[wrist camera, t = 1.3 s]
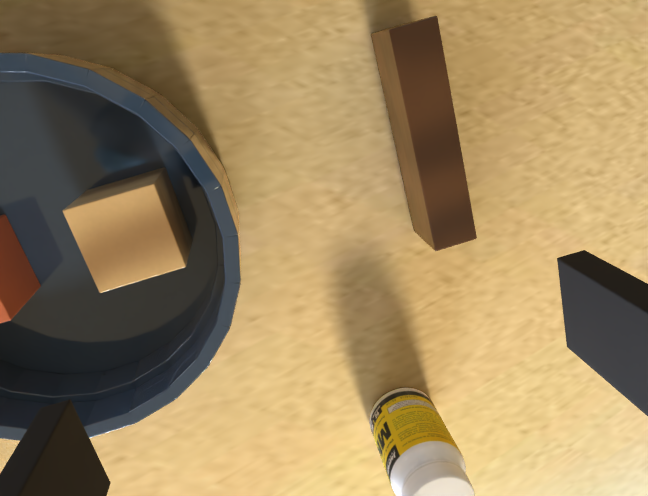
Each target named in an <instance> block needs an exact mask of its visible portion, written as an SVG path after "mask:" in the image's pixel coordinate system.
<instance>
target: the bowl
mask: <svg viewBox="0 0 648 496" xmlns="http://www.w3.org/2000/svg"><path fill="white" fill-rule="evenodd" d="M161 168H166V170H167V173H168V175H169V178H170V181H171V183H172V186H173V189H174V191H175V194H176V197H177V199H178V202H179V205H180V207H181V210H182V213H183V215H184V218H185V221H186V223H187V226H188V229H189V232H190V234H191V237H192V240H193V241H192V245H191V249H190V252H189V256H188V260H187V264H186V267H184V268H181V269H178V270H174V271H171V272H168V273H165V274H161V275H158V276H155V277H151V278H148V279H145V280H141V281H138V282H135V283H132V284H128V285H125V286H122V287H118V288H115V289H112V290H109V291H105V292H102V293H100V292H99V290H98V288H97V286H96V284H95V282H94V279H93V277H92V275H91V273H90V271H89V268H88V266H87V264H86V262H85V260H84V257H83V255H82V253H81V251H80V249H79V246H78V244H77V242H76V240H75V238H74V235H73V233H72V231H71V229H70V227H69V224H68V222H67V220H66V218H65V216H64V213H63V210H64V209H65V208H66V207H68V206H69V205H70V204H71V203H72V202H74V201H75V200H76V199H77V198H78V197H80V196H81V195H82V194H83V193H84V192H86V191H87V190H89V189H93V188H96V187H99V186H103V185H106V184H110V183H113V182H116V181H120V180H123V179H127V178H130V177H133V176H137V175H140V174H144V173H147V172H150V171H154V170H157V169H161ZM1 215H6V216H7V218H8V220H9V222H10V225H11V227H12V229H13V231H14V233H15V235H16V237H17V239H18V241H19V243H20V245H21V247H22V249H23V251H24V253H25V255H26V257H27V259H28V261H29V263H30V265H31V267H32V269H33V271H34V273H35V275H36V277H37V279H38V281H39V283H40V285H41V287H40V288H39V289H38V290H37V291H36V292H35V293H34V294H33V296H32V297H31V298H30V299H29V300H28V301H27V302H26V303H25V305H24V306H23V307H22V308H21V309H20V310H19V311H18V312H17V314H16V315H15V316H14V317H13V318H12V319H11V320H10V321H6V322H3V323H0V438H2V439H10V440H19V441H21V439H22V437H23V436H24V434H25V433H26V431H27V429H28V428H29V426H30V424H31V423H32V421H33V419H34V418H35V416H36V414H37V413H38V411H39V409H40V408H41V407H45V406H48V405H52V404H55V403H59V402H62V401H66V400H69V399H71V402H72V404H73V406H74V408H75V410H76V412H77V414H78V416H79V418H80V420H81V422H82V424H83V427H84V429H85V431H86V433H87V435H88V437H89V438H91V437H94V436H98V435H101V434H104V433H107V432H110V431H113V430H117V429H120V428H123V427H126V426H129V425H132V424H135V423H137V422H139V421H140V420H142V419H144V418H145V417H147V416H149V415H151V414H152V413H154V412H156V411H157V410H159V409H161V408H162V407H164V406H166V405H167V404H169V403H171V402H172V401H174V400H175V399H177V398H178V397H179V396H180V395H181V394H182V393H183V392H184V391H185V390H186V389H187V388H188V387H189V386H190V385H191V384H192V383H193V382H194V381H195V380H196V379H197V378H198V377H199V376H200V375H201V374H202V373H203V372H204V371H205V370H206V369H207V368H208V366H209V365H210V363H211V361H212V359H213V358H214V356H215V354H216V352H217V350H218V349H219V347H220V345H221V343H222V342H223V340H224V338H225V336H226V334H227V333H228V331H229V329H230V326H231V323H232V319H233V314H234V310H235V306H236V301H237V297H238V293H239V289H240V284H241V251H240V232H239V213H238V208H237V205H236V202H235V199H234V196H233V193H232V190H231V187H230V184H229V181H228V178H227V175H226V172H225V169H224V167H223V166H222V164H221V163H220V161H219V160H218V158H217V156H216V155H215V153H214V152H213V150H212V149H211V147H210V146H209V144H208V143H207V141H206V140H205V138H204V137H203V135H202V134H201V132H200V131H199V129H198V128H197V127H196V126H195V125H194V124H193V123H192V122H191V121H190V120H188V119H187V118H186V117H185V116H184V115H183V114H182V113H181V112H180V111H179V110H177V109H176V108H175V107H174V106H173V105H172V104H171V103H170V102H169V101H168V100H166V99H165V98H164V97H163V96H162V95H161V94H159V93H158V92H156V91H154V90H152V89H151V88H149V87H147V86H145V85H143V84H141V83H139V82H138V81H136V80H134V79H132V78H130V77H128V76H127V75H125V74H123V73H121V72H119V71H117V70H116V69H113V68H110V67H107V66H103V65H99V64H95V63H91V62H87V61H83V60H80V59H76V58H72V57H68V56H64V55H58V54H40V53H0V216H1Z"/></svg>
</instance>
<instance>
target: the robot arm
mask: <svg viewBox="0 0 648 496" xmlns="http://www.w3.org/2000/svg"><path fill="white" fill-rule="evenodd" d="M557 260H558V269H559V278H560V287H561V296H562V305H563V314H564V323H565V332H566V342H567V347H568V348H569V349H570V350H571V351H573V352H574V353H575V354H576V355H577V356H578V357H580V358H581V359H582V360H583V361H584V362H585V363H587V364H588V365H589V366H590V367H591V368H592V369H594V370H595V371H596V372H597V373H598V374H599V375H600V376H602V377H603V378H604V379H605V380H606V381H607V382H609V383H610V384H611V385H612V386H613V387H614V388H616V389H617V390H618V391H619V392H620V393H621V394H623V395H624V396H625V397H626V398H627V399H628V400H630V401H631V402H632V403H633V404H634V405H635V406H637V407H638V408H639V409H640V410H641V411H642V412H644V413H645V414H646V415H647V416H648V284H647V283H645V282H643V281H641V280H639V279H638V278H636V277H634V276H632V275H630V274H628V273H626V272H624V271H622V270H621V269H619V268H617V267H615V266H613V265H611V264H609V263H607V262H606V261H604V260H602V259H600V258H598V257H596V256H594V255H592V254H590V253H589V252H587V251H585V250H583V251H580V252H577V253H573V254H570V255H566V256H563V257H559V258H557ZM109 486H110V481H109V479H108V477H107V475H106V473H105V470H104V468H103V466H102V464H101V462H100V460H99V458H98V456H97V454H96V452H95V450H94V447H93V445H92V443H91V441H90V439H89V437H88V435H87V433H86V431H85V429H84V427H83V424H82V422H81V420H80V418H79V416H78V414H77V412H76V410H75V408H74V406H73V404H72V402H71V399H69V400H66V401H62V402H59V403H55V404H52V405H48V406H45V407H41V408H40V409H39V411H38V413H37V414H36V416H35V418H34V419H33V421H32V423H31V424H30V426H29V428H28V429H27V431H26V433H25V434H24V436H23V437H22V439H21V441H20V442H19V444H18V446H17V447H16V449H15V451H14V452H13V454H12V456H11V457H10V459H9V460H8V462H7V464H6V465H5V467H4V469H3V470H2V472H1V474H0V496H106V495H107V492H108V489H109Z"/></svg>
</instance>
